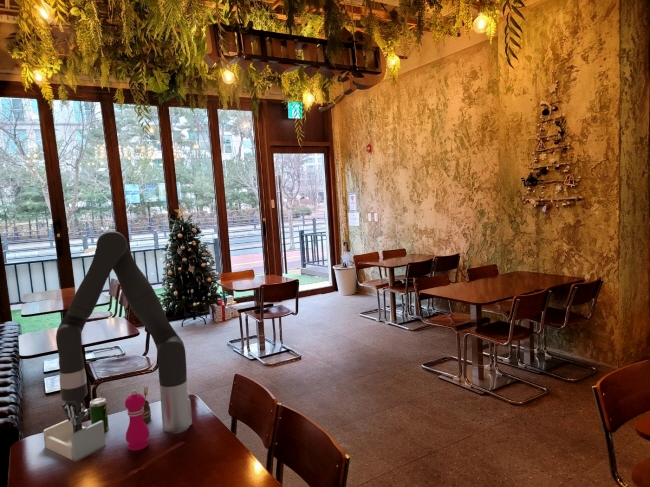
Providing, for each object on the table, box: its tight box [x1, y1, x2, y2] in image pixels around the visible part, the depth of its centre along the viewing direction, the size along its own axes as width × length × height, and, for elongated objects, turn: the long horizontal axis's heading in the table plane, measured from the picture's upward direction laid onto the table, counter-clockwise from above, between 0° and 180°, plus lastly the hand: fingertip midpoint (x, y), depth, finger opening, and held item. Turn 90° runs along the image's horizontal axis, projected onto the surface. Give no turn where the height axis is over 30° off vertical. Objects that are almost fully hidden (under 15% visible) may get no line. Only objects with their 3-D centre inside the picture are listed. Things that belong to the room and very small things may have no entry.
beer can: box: [89, 397, 110, 433], centre depth 157 cm, size 5×5×12 cm
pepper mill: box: [124, 389, 150, 451], centre depth 146 cm, size 7×7×20 cm
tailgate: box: [71, 421, 107, 463], centre depth 142 cm, size 10×2×9 cm, turn 149°
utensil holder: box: [143, 386, 152, 424], centre depth 165 cm, size 6×6×12 cm
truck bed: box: [43, 419, 87, 461], centre depth 147 cm, size 10×16×7 cm, turn 59°
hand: (78, 433), depth 145 cm, fingers closed
